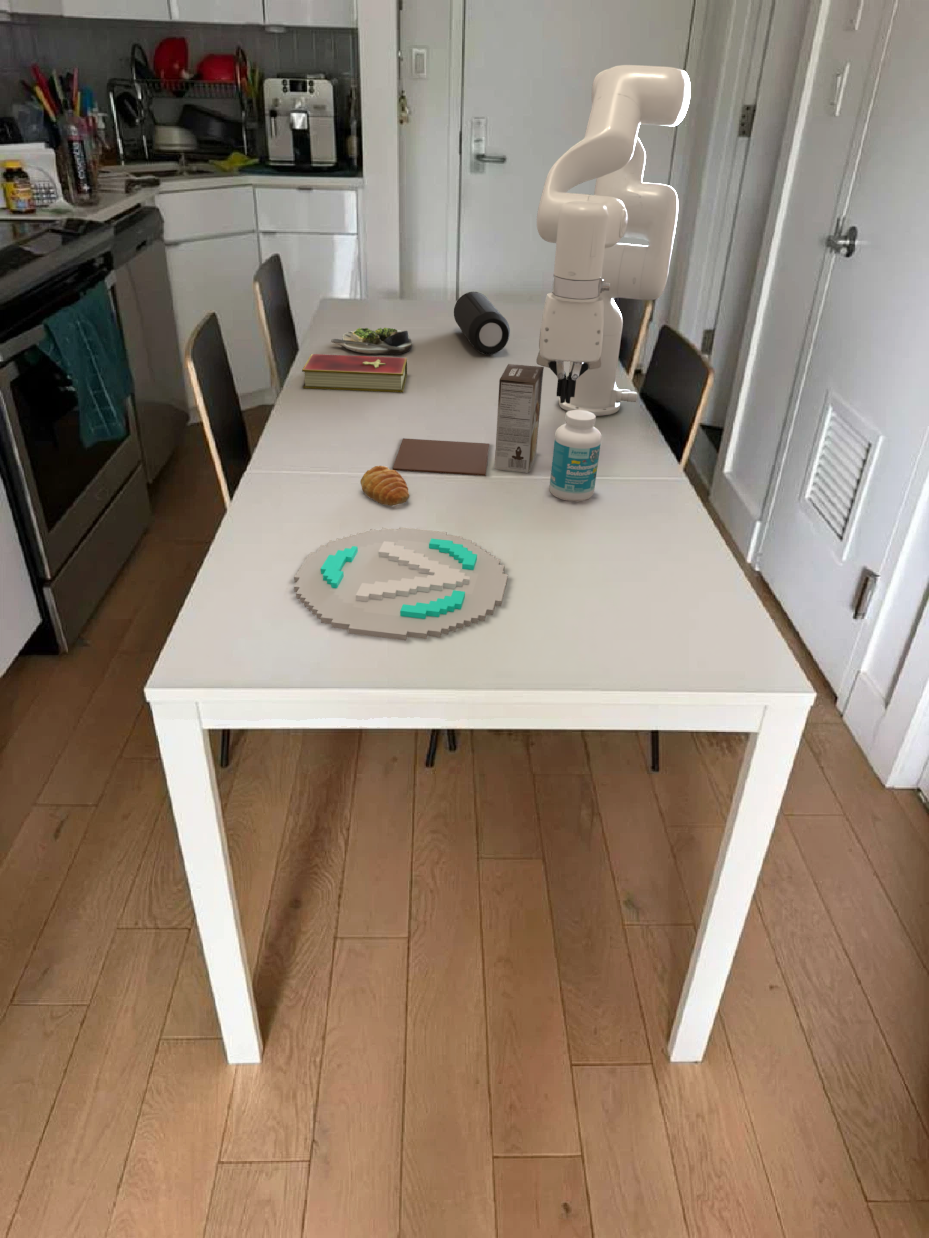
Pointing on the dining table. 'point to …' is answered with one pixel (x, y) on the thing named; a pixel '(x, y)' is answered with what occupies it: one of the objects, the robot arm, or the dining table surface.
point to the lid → (401, 583)
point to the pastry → (385, 486)
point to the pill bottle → (575, 457)
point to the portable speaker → (481, 323)
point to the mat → (442, 457)
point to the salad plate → (376, 341)
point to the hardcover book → (355, 373)
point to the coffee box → (518, 417)
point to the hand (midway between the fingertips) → (564, 400)
